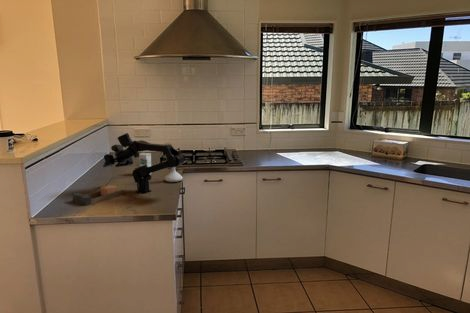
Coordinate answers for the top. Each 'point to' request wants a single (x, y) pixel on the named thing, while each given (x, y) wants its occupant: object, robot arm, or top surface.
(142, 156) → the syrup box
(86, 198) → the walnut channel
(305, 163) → the top surface
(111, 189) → the block
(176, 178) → the flower in vase
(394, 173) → the top surface
